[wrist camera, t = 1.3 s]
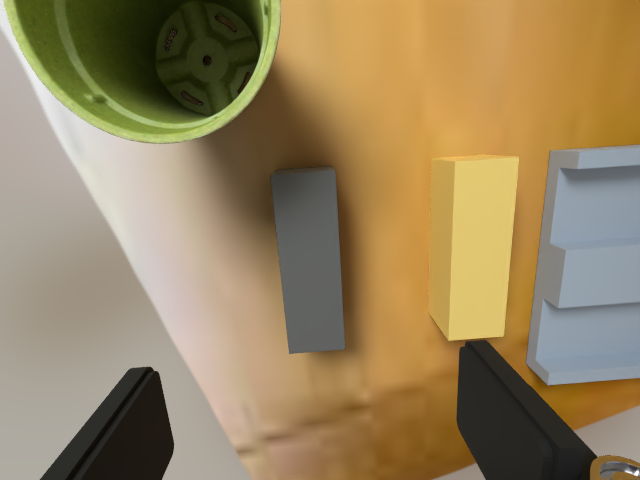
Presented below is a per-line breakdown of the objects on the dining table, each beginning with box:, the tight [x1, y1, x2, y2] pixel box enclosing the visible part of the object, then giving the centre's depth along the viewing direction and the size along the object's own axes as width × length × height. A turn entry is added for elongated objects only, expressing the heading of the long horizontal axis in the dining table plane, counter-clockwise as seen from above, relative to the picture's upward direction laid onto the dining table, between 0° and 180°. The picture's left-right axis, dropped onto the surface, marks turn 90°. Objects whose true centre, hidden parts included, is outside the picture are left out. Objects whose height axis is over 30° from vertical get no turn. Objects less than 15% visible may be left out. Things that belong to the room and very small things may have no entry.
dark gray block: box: [270, 166, 345, 354], centre depth 22 cm, size 11×4×4 cm, turn 4°
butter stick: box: [428, 155, 519, 341], centre depth 22 cm, size 11×4×4 cm, turn 4°
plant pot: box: [3, 0, 281, 144], centre depth 16 cm, size 9×9×9 cm
